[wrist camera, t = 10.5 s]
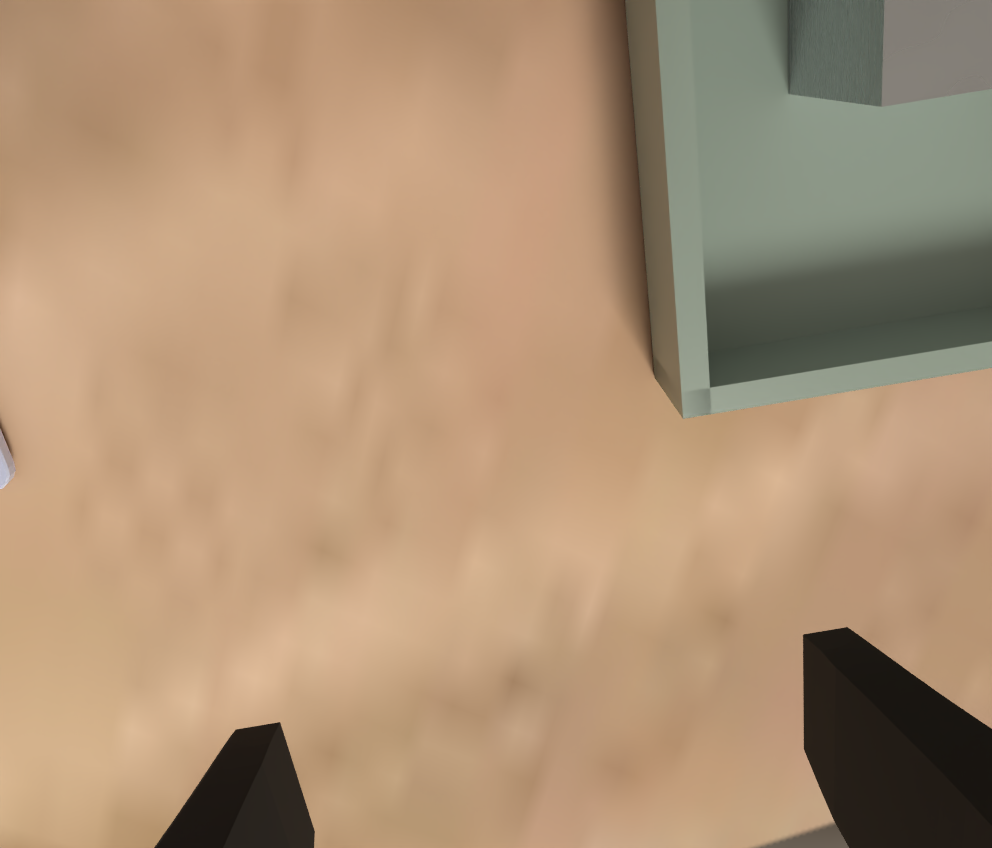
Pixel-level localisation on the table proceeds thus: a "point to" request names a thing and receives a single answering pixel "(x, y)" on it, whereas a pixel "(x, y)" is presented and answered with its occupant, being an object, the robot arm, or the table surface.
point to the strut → (888, 49)
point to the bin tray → (800, 218)
